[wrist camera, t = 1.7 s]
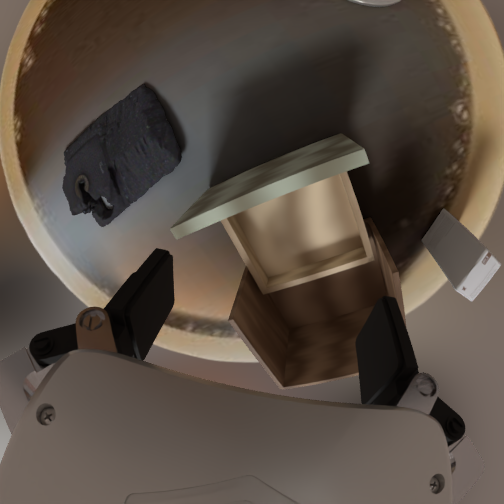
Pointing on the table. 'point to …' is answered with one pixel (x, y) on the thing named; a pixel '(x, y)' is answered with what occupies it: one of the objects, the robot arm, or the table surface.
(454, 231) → the skincare box
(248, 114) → the table surface
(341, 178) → the pull-out wooden drawer
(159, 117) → the black tote bag
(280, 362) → the walnut box
